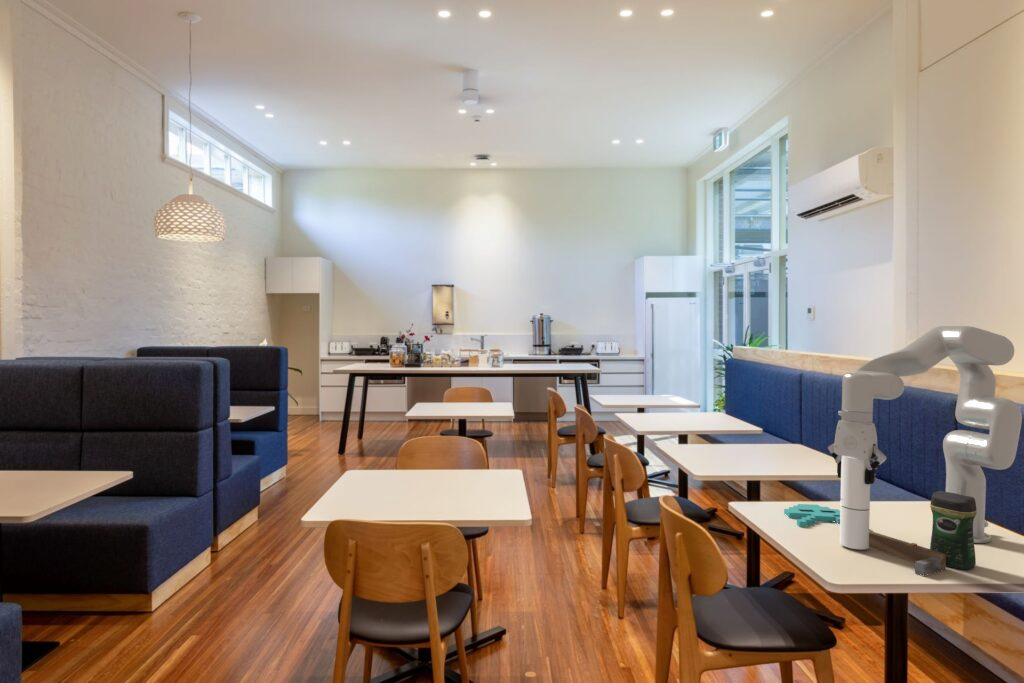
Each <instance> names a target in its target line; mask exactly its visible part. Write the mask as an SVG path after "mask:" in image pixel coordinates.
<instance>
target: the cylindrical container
mask: <svg viewBox="0 0 1024 683" xmlns="http://www.w3.org/2000/svg"><path fill="white" fill-rule="evenodd" d="M869 461H870V460H869ZM866 469H867V467H866V465H865V461H864V460H859V459H857V458H852V457H847V456H841V478H840V504H839V506H840V508H839V510H840V525H839V544H840V545H841V546H842V547H846V548H849V549H852V550H853V549H854V550H867V549H869V548H870V547H869V531H870V517H871V516H870V513H871V512H870V510H871V509H870V507H871V484H865V470H866Z"/></svg>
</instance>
